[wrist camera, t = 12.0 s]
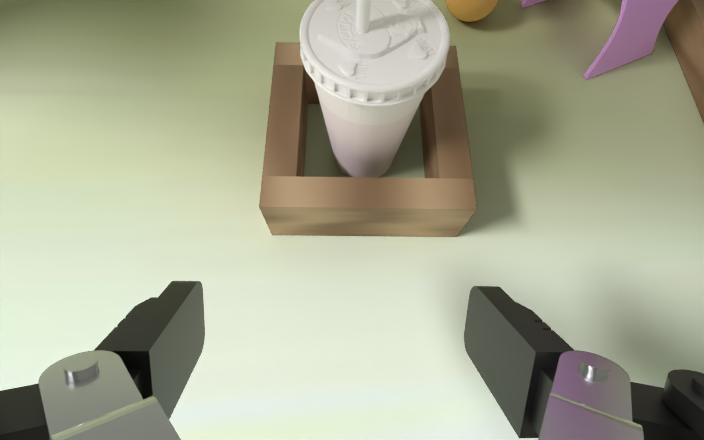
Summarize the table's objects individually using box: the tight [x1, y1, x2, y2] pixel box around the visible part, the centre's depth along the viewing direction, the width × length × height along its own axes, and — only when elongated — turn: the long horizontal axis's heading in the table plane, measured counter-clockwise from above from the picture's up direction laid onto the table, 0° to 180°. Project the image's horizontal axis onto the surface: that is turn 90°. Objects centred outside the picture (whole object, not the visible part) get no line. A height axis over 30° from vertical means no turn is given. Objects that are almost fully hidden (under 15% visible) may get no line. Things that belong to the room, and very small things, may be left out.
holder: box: [259, 42, 477, 237], centre depth 24 cm, size 11×11×4 cm
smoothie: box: [299, 0, 450, 178], centre depth 19 cm, size 6×6×14 cm
